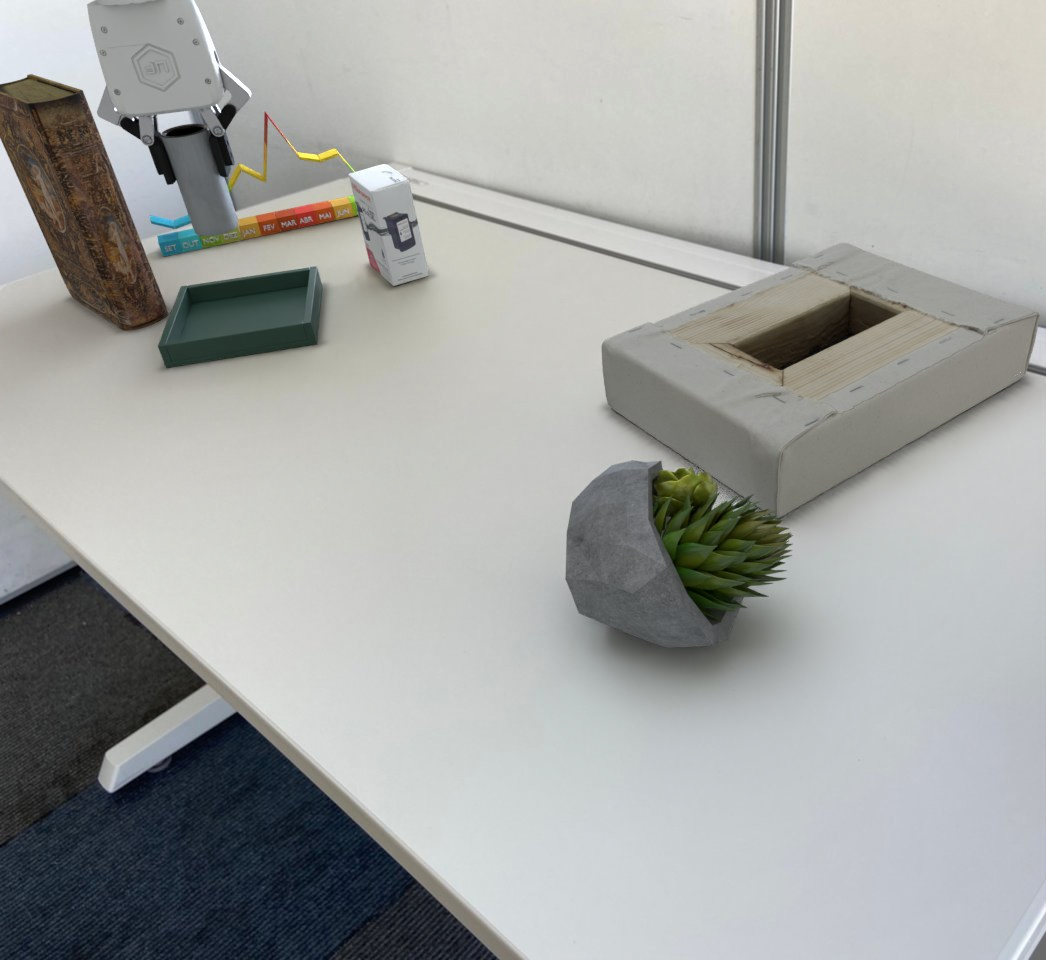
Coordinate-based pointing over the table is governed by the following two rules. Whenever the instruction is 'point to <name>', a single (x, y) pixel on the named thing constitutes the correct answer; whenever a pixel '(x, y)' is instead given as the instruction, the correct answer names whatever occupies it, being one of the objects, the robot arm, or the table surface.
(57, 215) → the book
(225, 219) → the gray hollow cylinder
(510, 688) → the table surface
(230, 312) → the tray
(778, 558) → the potted plant
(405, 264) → the ink box
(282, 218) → the chart
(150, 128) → the robot arm
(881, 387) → the box
